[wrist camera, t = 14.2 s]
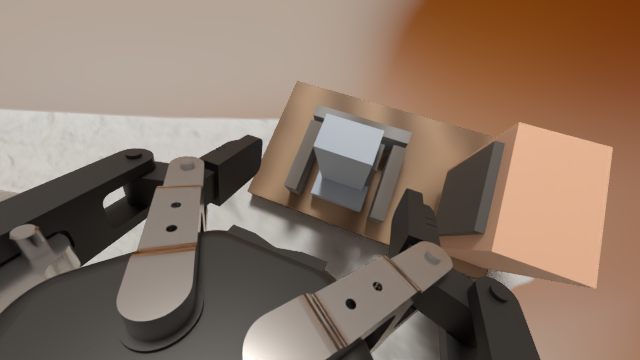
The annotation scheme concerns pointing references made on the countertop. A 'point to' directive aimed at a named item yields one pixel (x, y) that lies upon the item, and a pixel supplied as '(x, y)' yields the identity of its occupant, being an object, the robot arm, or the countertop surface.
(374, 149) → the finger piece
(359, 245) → the countertop surface
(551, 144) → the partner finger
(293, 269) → the robot arm
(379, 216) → the rail
